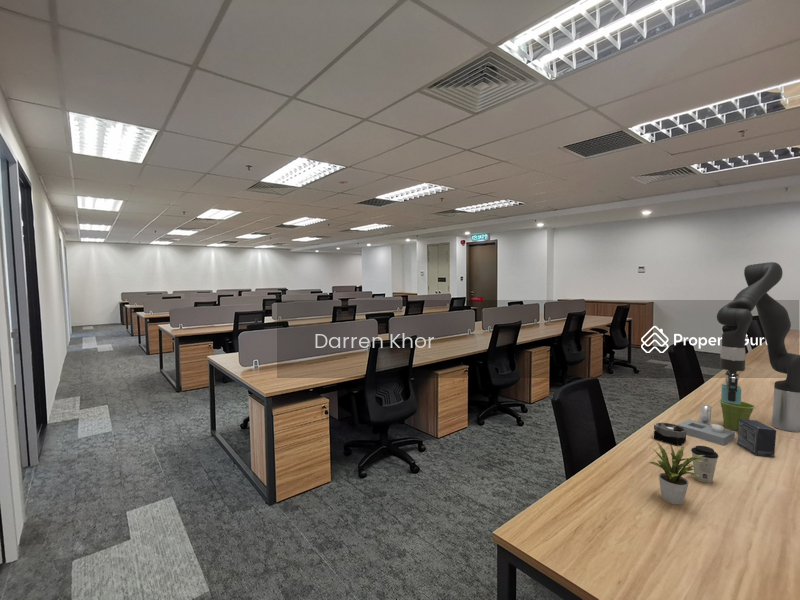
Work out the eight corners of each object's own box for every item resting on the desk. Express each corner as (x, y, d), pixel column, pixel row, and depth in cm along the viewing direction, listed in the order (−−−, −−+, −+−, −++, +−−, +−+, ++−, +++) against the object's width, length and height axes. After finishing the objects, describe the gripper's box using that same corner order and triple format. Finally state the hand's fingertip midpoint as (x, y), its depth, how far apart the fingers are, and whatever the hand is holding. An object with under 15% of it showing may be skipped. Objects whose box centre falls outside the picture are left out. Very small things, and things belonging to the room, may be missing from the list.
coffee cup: (710, 486, 117) (712, 455, 117) (685, 476, 123) (686, 446, 123) (721, 481, 121) (723, 451, 120) (696, 471, 127) (697, 442, 126)
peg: (701, 426, 167) (702, 404, 167) (711, 429, 164) (712, 406, 164) (698, 427, 165) (699, 405, 165) (708, 430, 162) (709, 407, 162)
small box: (776, 458, 138) (778, 429, 137) (755, 456, 139) (757, 428, 138) (755, 445, 148) (756, 419, 147) (736, 444, 149) (737, 418, 149)
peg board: (688, 426, 168) (689, 414, 167) (734, 438, 154) (735, 425, 154) (676, 431, 161) (677, 419, 161) (723, 445, 148) (724, 432, 147)
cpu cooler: (689, 427, 151) (682, 433, 145) (688, 441, 152) (681, 448, 145) (659, 420, 159) (651, 425, 153) (658, 433, 160) (650, 439, 153)
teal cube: (721, 398, 156) (721, 384, 156) (739, 401, 153) (739, 386, 152) (722, 401, 152) (722, 387, 152) (740, 404, 148) (741, 389, 148)
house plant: (710, 524, 99) (713, 463, 98) (647, 506, 106) (649, 450, 106) (701, 497, 111) (704, 443, 110) (646, 484, 118) (648, 433, 118)
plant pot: (751, 436, 157) (753, 409, 157) (715, 427, 166) (716, 402, 166) (755, 429, 165) (756, 403, 164) (720, 421, 174) (721, 397, 173)
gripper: (719, 353, 159) (717, 393, 160) (721, 359, 148) (719, 401, 149) (743, 356, 155) (741, 396, 156) (747, 362, 143) (745, 405, 144)
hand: (730, 398), depth 152 cm, fingers closed on teal cube, 5 cm apart
